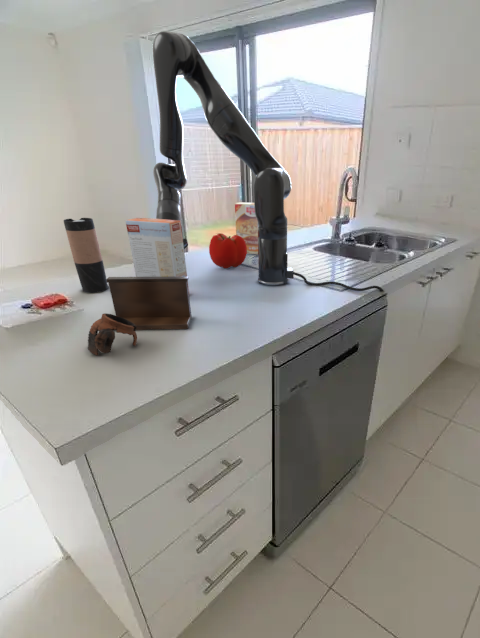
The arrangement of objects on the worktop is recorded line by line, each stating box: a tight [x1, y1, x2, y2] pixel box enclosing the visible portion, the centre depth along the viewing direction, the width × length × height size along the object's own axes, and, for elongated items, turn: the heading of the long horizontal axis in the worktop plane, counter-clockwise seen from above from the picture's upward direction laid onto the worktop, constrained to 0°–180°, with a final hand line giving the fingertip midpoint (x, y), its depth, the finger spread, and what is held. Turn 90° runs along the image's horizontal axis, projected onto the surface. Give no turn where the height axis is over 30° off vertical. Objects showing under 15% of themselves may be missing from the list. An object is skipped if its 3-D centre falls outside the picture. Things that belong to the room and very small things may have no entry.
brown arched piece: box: [87, 313, 138, 356], centre depth 78 cm, size 12×10×8 cm
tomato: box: [208, 232, 248, 270], centre depth 136 cm, size 13×14×12 cm
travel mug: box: [63, 217, 109, 294], centre depth 109 cm, size 8×8×20 cm
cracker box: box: [125, 217, 190, 292], centre depth 105 cm, size 14×6×21 cm, turn 71°
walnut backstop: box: [106, 275, 193, 331], centre depth 88 cm, size 19×7×11 cm, turn 94°
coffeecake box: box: [234, 201, 258, 256], centre depth 154 cm, size 15×7×20 cm, turn 81°
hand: (166, 267), depth 114 cm, fingers closed
